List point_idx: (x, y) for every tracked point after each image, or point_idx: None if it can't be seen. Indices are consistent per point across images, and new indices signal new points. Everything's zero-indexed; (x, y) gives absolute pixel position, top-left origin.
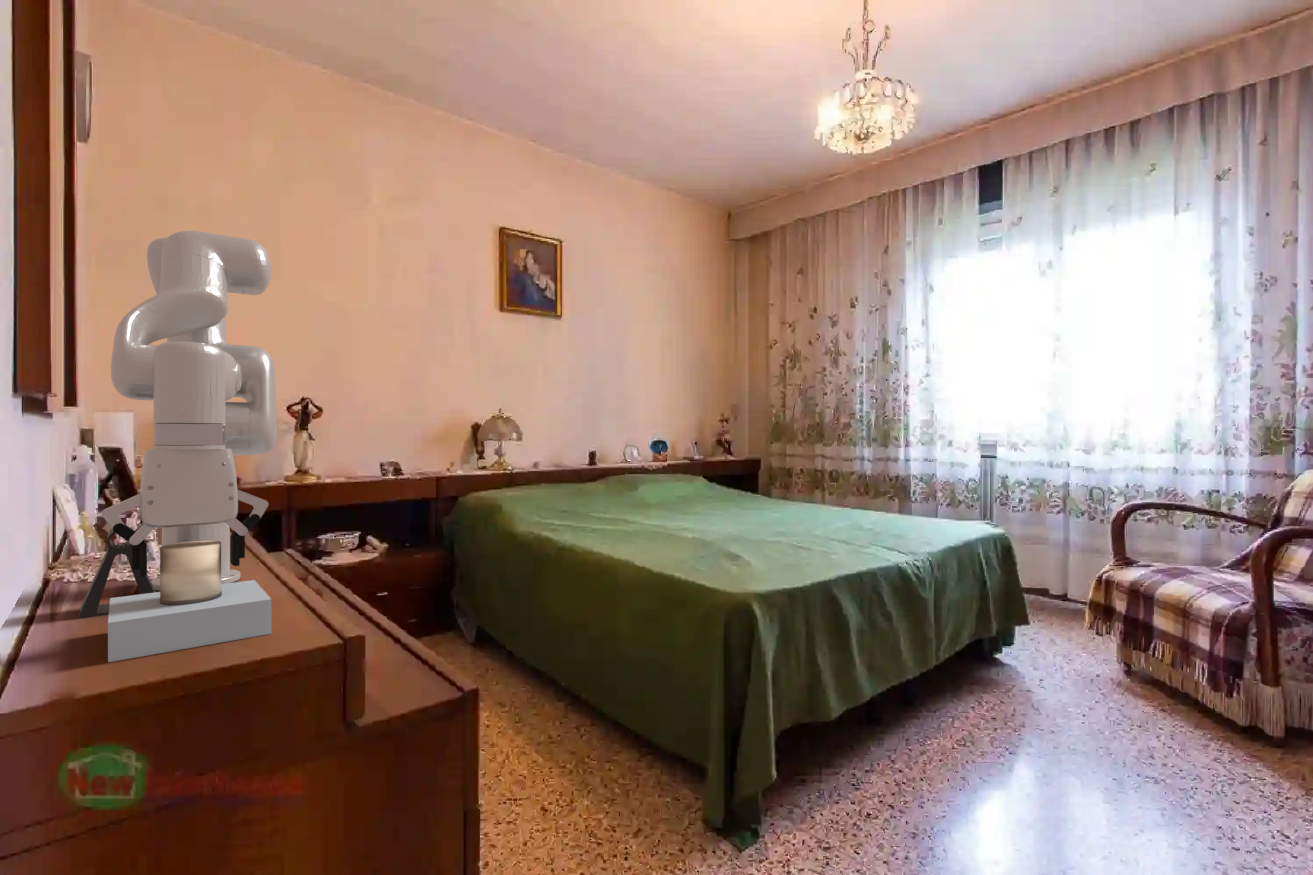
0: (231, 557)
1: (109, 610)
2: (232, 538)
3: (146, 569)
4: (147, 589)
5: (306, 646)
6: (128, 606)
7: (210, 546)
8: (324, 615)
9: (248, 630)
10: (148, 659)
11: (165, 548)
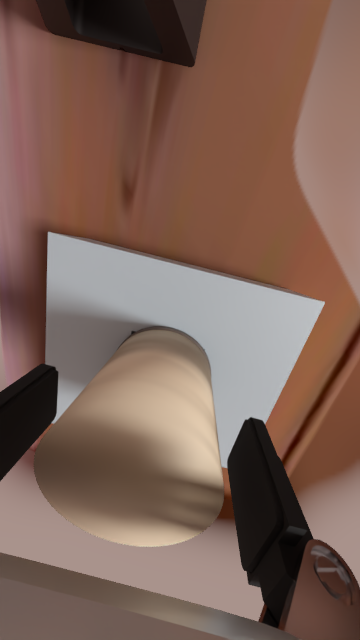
0: (240, 455)
1: (46, 348)
2: (247, 557)
3: (44, 428)
4: (162, 3)
5: (229, 484)
6: (72, 344)
7: (163, 542)
8: (324, 405)
9: None
10: None
11: (47, 488)
